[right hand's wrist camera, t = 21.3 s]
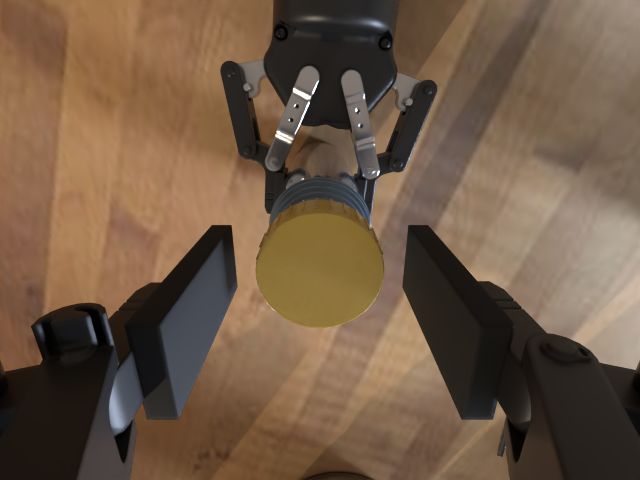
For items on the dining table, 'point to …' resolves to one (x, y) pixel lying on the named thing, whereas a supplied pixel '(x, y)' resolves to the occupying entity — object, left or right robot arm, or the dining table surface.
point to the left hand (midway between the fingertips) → (317, 221)
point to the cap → (320, 264)
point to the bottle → (320, 180)
